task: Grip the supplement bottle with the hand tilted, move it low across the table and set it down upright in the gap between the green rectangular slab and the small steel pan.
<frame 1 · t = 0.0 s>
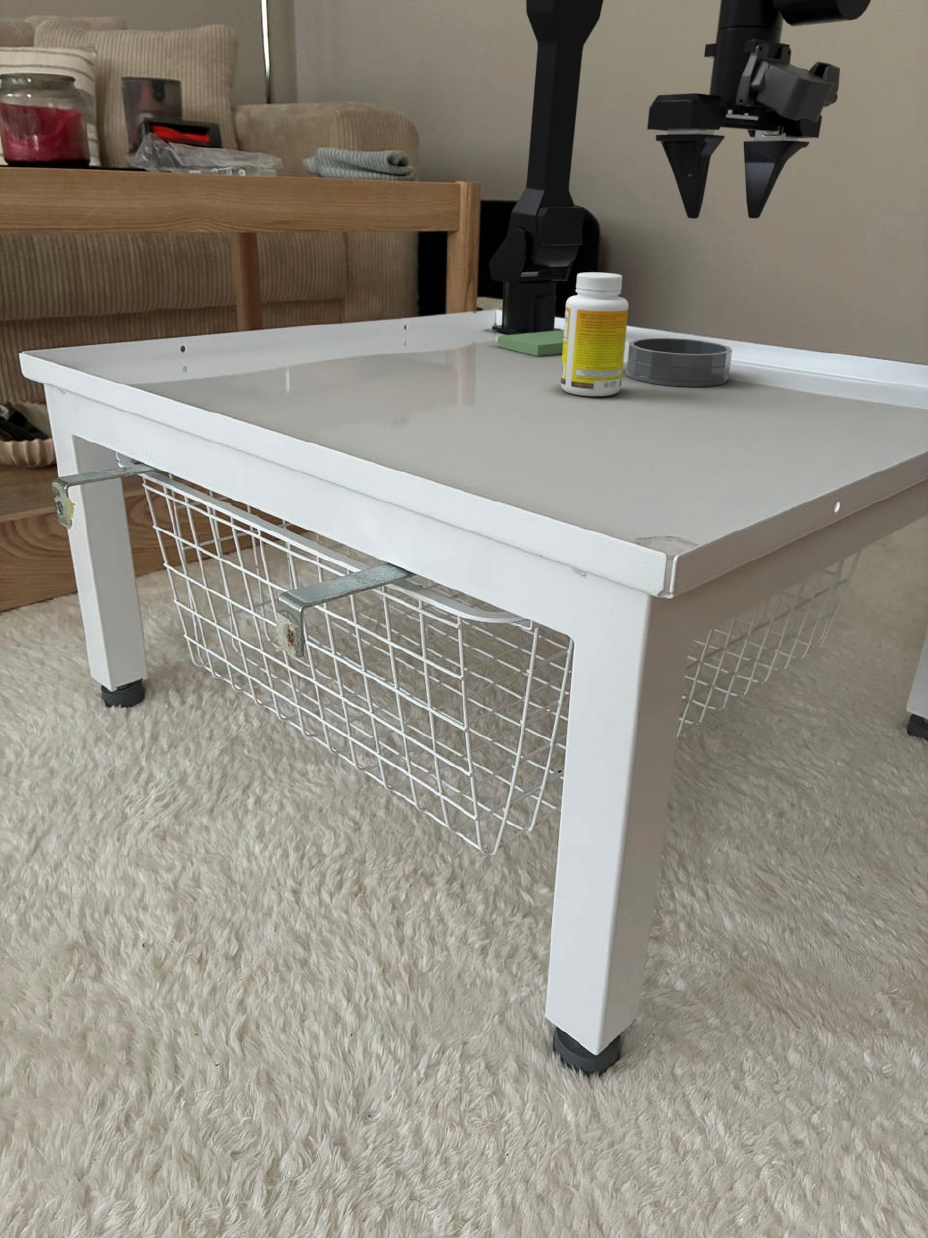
hand: (724, 218, 92), 15 cm above the table, tool pointing down, fingers open, 9 cm apart
green rectangular slab: (550, 347, 109), on the table
supplement bottle: (589, 393, 88), on the table
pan: (676, 376, 95), on the table
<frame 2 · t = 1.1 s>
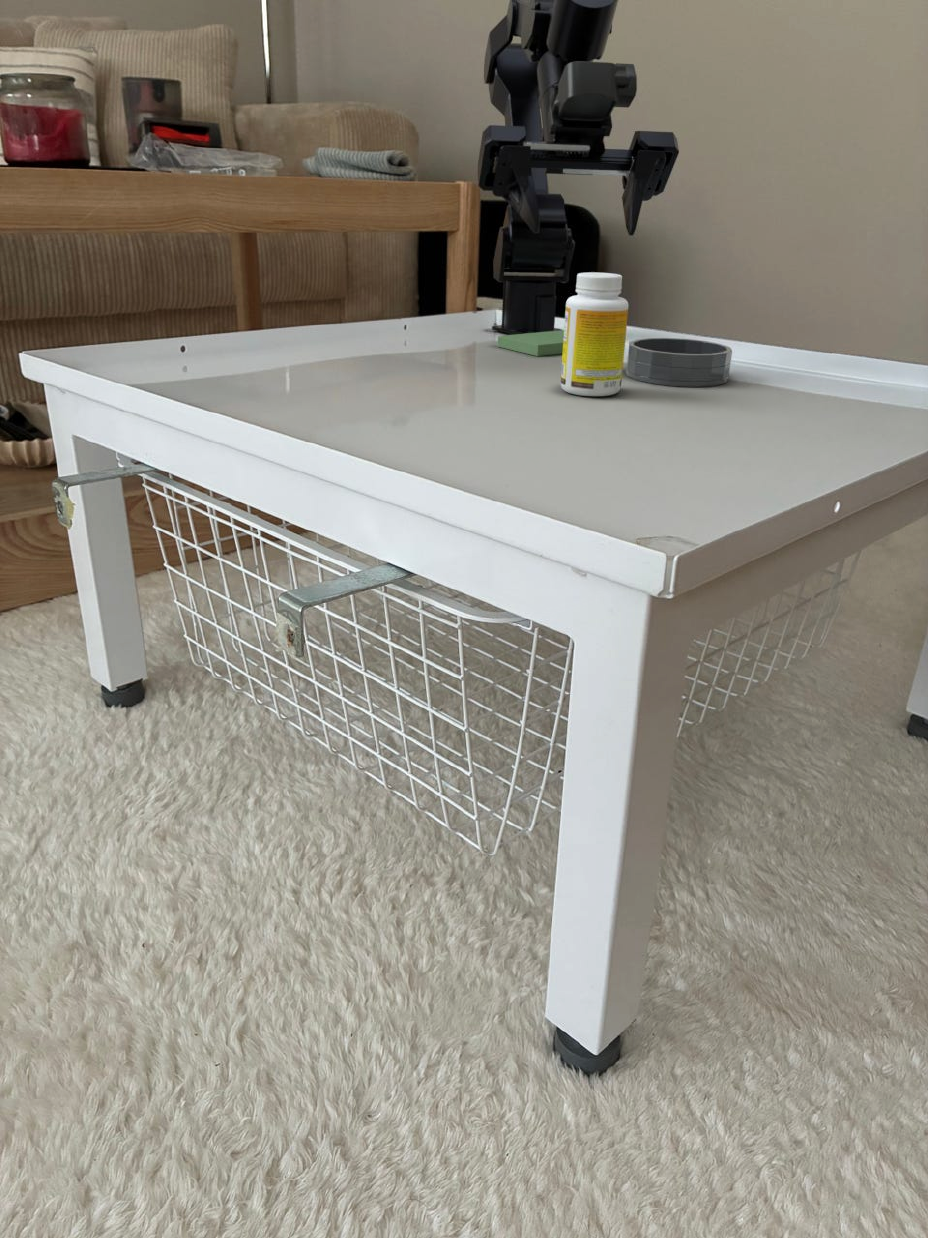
hand: (585, 231, 89), 13 cm above the table, tool tilted 45°, fingers open, 9 cm apart
nothing on the table moved.
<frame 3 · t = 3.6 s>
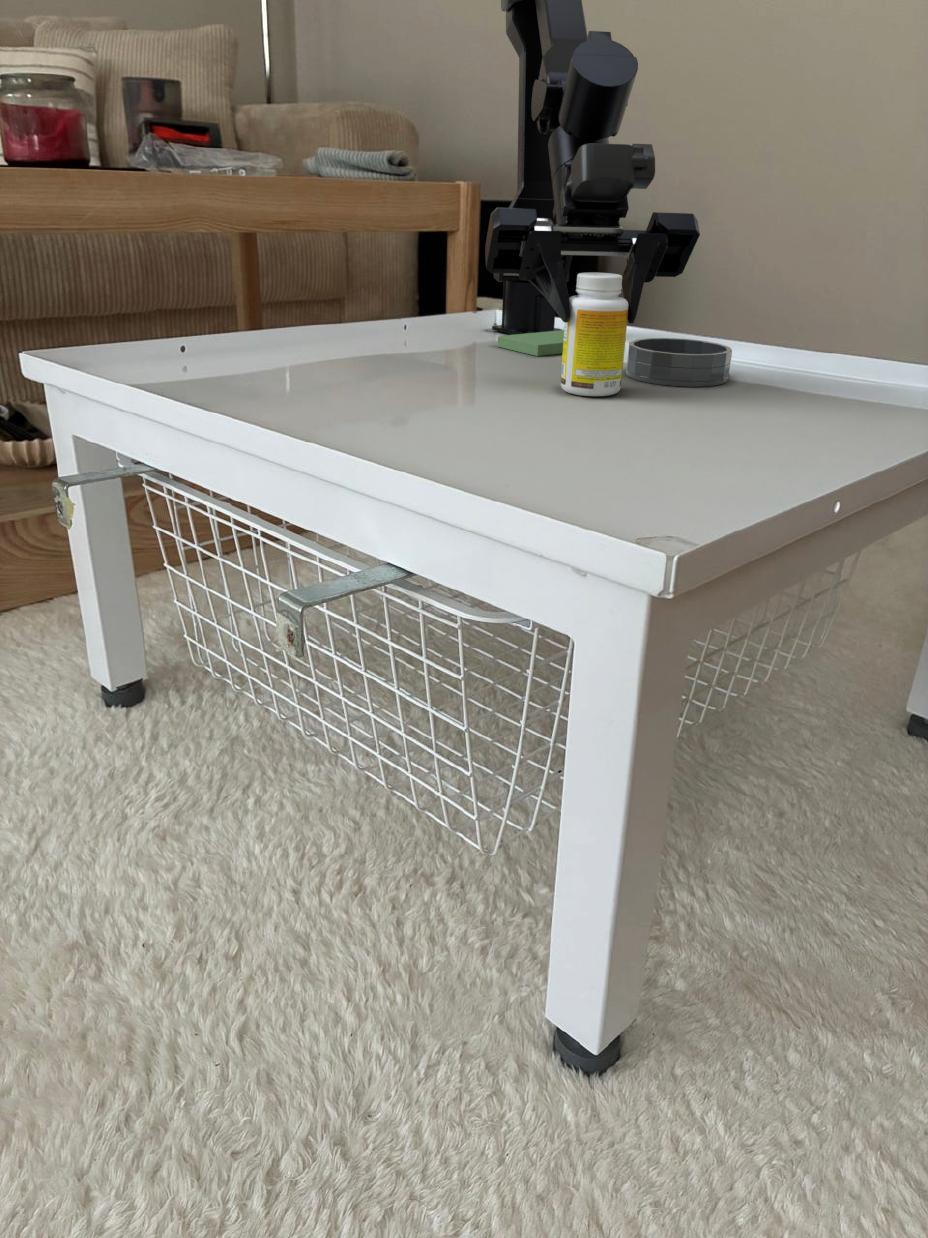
hand: (599, 319, 83), 7 cm above the table, tool tilted 45°, fingers closed on supplement bottle, 5 cm apart
supplement bottle: (589, 393, 88), on the table, touching gripper
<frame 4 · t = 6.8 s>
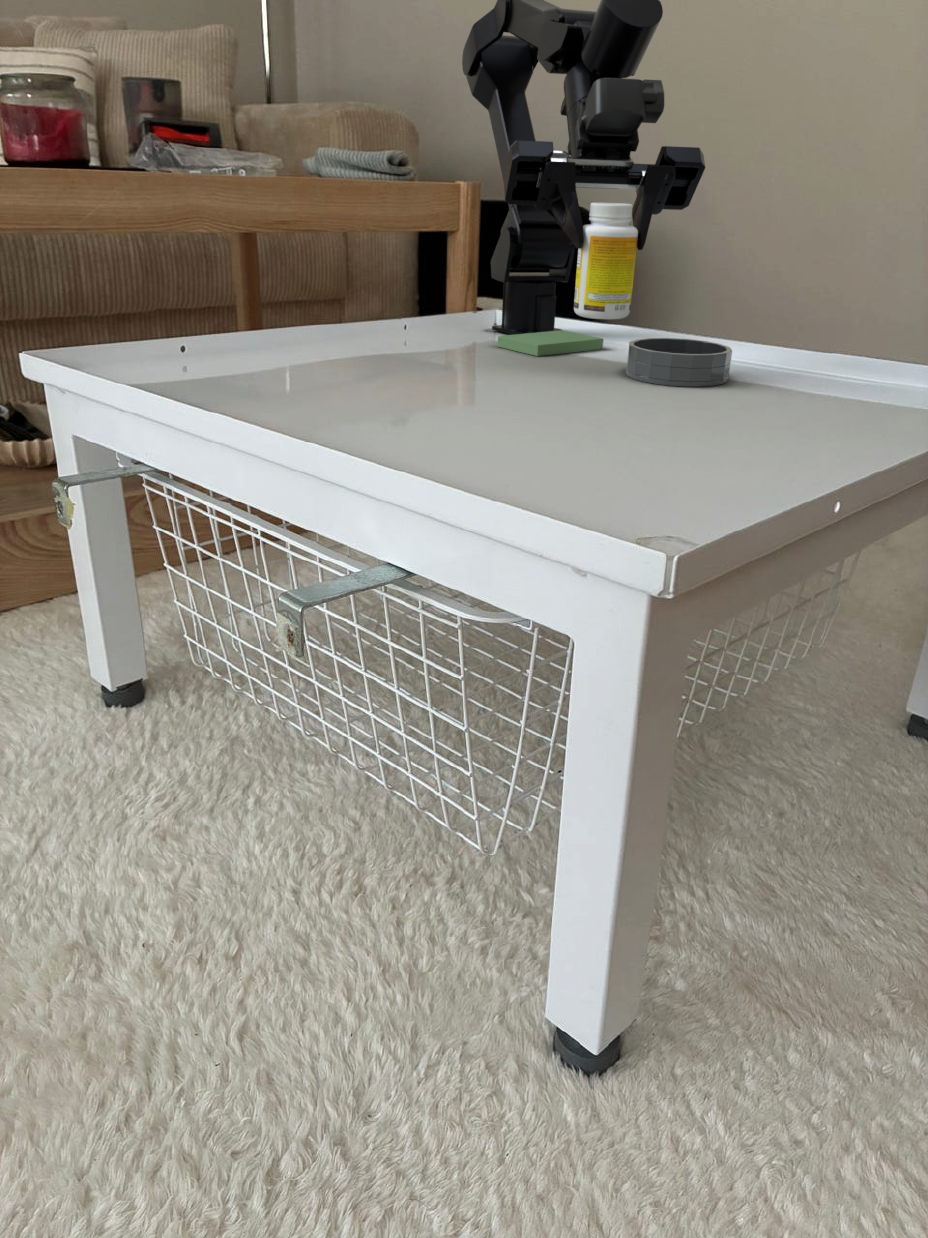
hand: (611, 246, 90), 12 cm above the table, tool tilted 45°, fingers closed on supplement bottle, 5 cm apart
supplement bottle: (600, 318, 94), point 5 cm above the table, touching gripper
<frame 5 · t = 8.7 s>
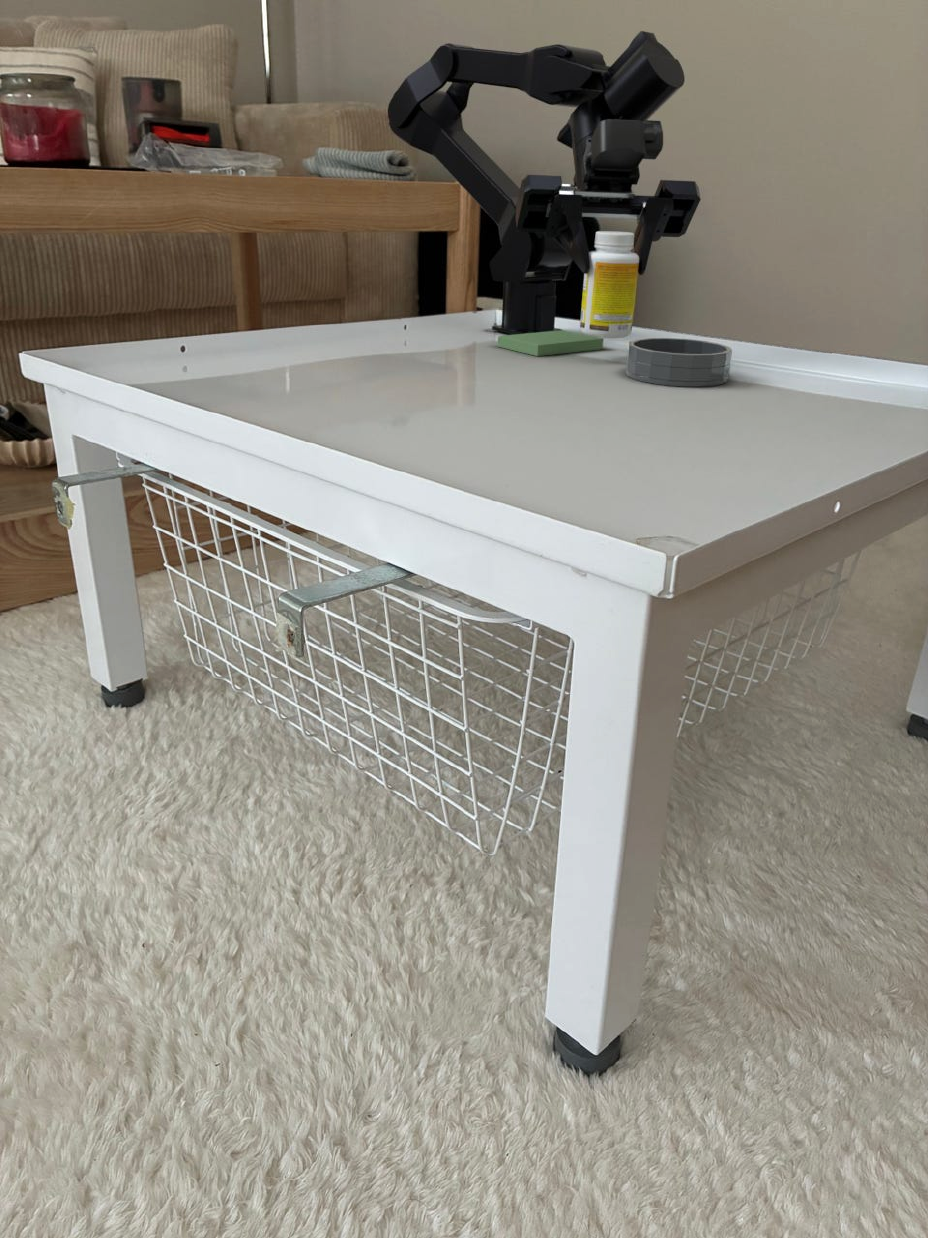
hand: (614, 271, 98), 9 cm above the table, tool tilted 45°, fingers closed on supplement bottle, 5 cm apart
supplement bottle: (604, 336, 102), point 2 cm above the table, touching gripper
when the fingers open (7 cm above the table, at t = 10.0 s): supplement bottle stays where it is, on the table.
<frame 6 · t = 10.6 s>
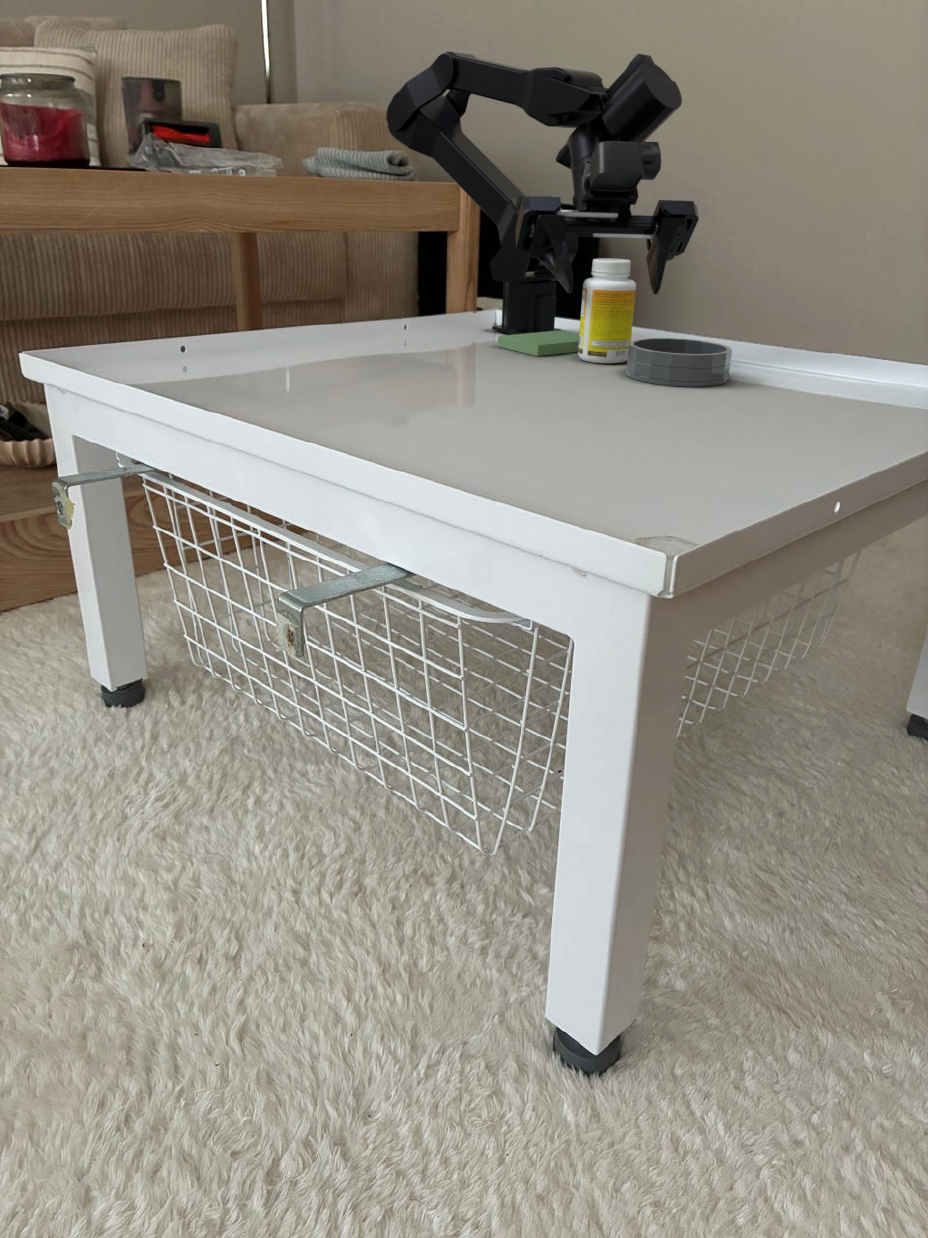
hand: (614, 290, 98), 7 cm above the table, tool tilted 45°, fingers open, 9 cm apart
supplement bottle: (602, 361, 103), on the table
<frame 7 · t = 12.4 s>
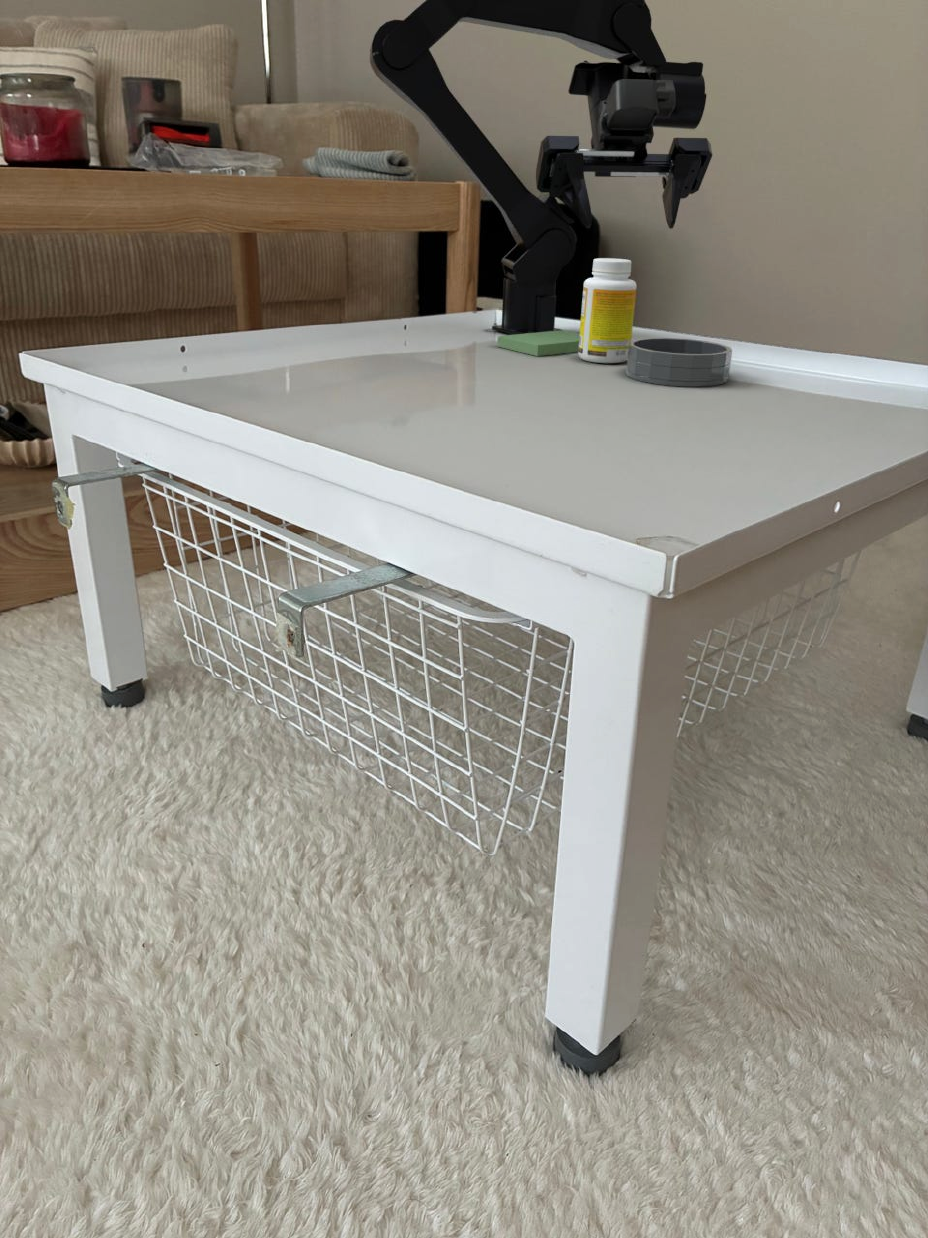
hand: (630, 225, 103), 13 cm above the table, tool tilted 45°, fingers open, 9 cm apart
nothing on the table moved.
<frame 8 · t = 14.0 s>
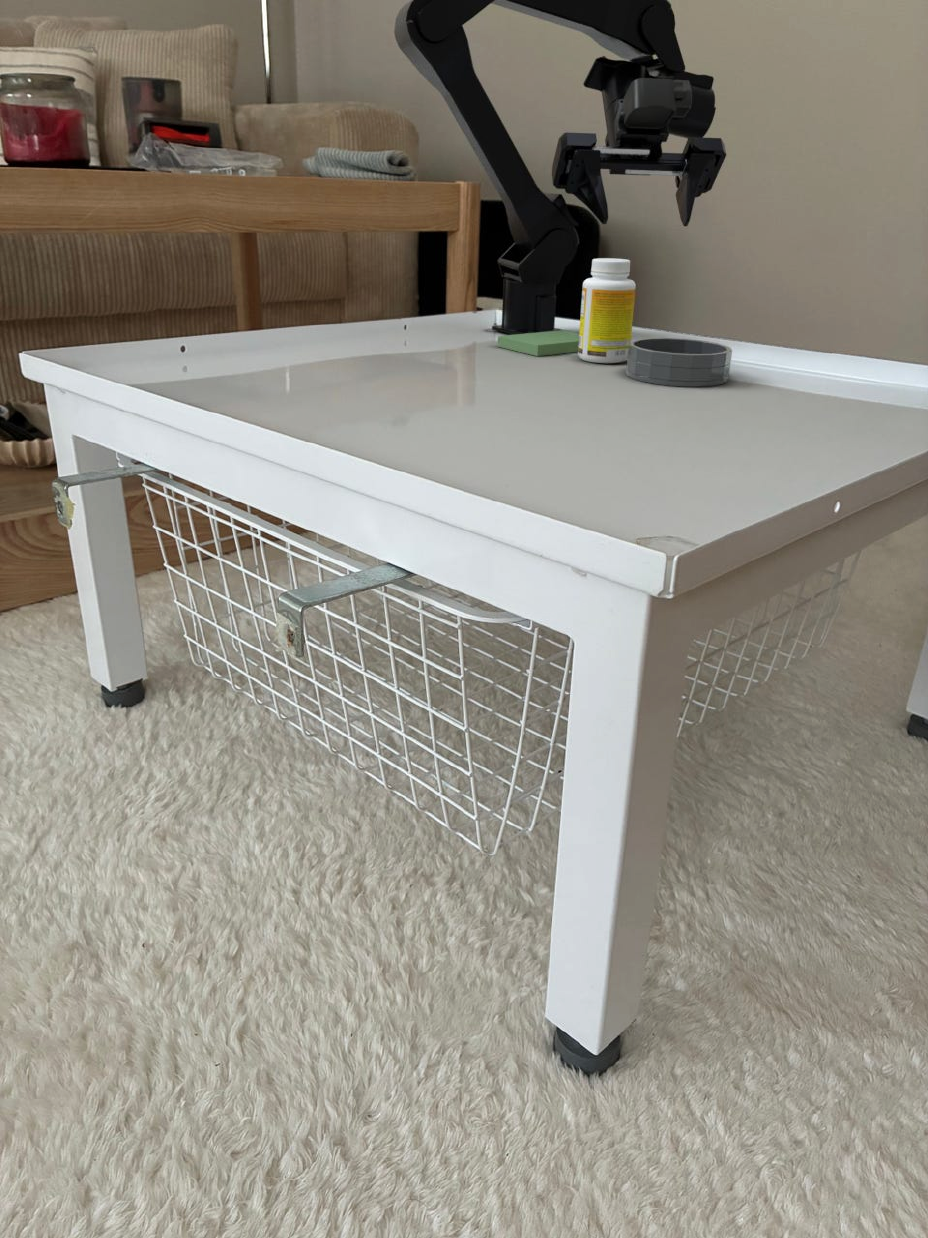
hand: (646, 222, 104), 14 cm above the table, tool tilted 45°, fingers open, 9 cm apart
nothing on the table moved.
at the end: supplement bottle 0.2 cm from the target spot on the table beside the green rectangular slab, on the table; supplement bottle tilted 0°; the gripper is holding nothing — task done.
